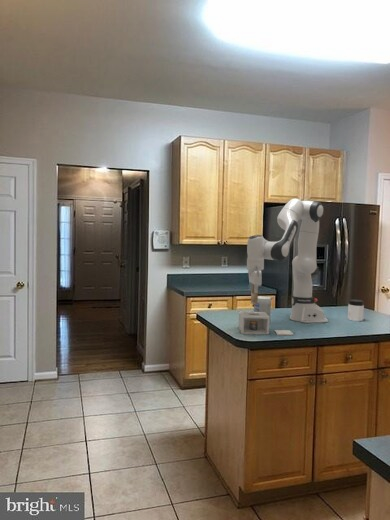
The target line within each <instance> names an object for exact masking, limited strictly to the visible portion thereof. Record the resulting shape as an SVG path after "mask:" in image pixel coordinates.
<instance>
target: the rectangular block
mask: <svg viewBox="0 0 390 520" xmlns="http://www.w3.org/2000/svg"><path fill="white" fill-rule="evenodd" d="M250 283H251V282H250ZM250 293H251V294H250V303H251V304H252V305H254V304H258V296H259V295H258V294H259V292H258V293H254V284H252V283H251V290H250Z"/></svg>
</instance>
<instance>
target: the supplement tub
mask: <svg viewBox="0 0 390 520" xmlns="http://www.w3.org/2000/svg"><path fill="white" fill-rule="evenodd" d="M271 310H272V297H269V296H264V295H263V296H261V295H258V304H253V312H265V313H266V314H267V315H268V316H269V317H270V318H271V313H272V312H271ZM269 324H271V319H270V320H269Z"/></svg>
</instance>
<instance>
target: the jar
mask: <svg viewBox="0 0 390 520" xmlns="http://www.w3.org/2000/svg"><path fill="white" fill-rule="evenodd" d="M347 306H348V307H347V309H348V310H347V320H350V321H351V322H352V321H353V322H363V321H364V313H365V305H364V301H363V300H362V299H349V301H348V305H347Z"/></svg>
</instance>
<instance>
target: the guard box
mask: <svg viewBox="0 0 390 520" xmlns="http://www.w3.org/2000/svg"><path fill="white" fill-rule="evenodd" d="M269 320H270V321H271V316H270V317H269V316H268V315H267V314H266V313H265V312H254V311H249V310H246V311H243V310H241V311H239V312H238V328H239V331H240V332H241V334H248V335H249V334H250V335H251V334H252V335H253V334H254V335H269V334H270V323H269ZM250 321H257V330H250Z"/></svg>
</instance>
